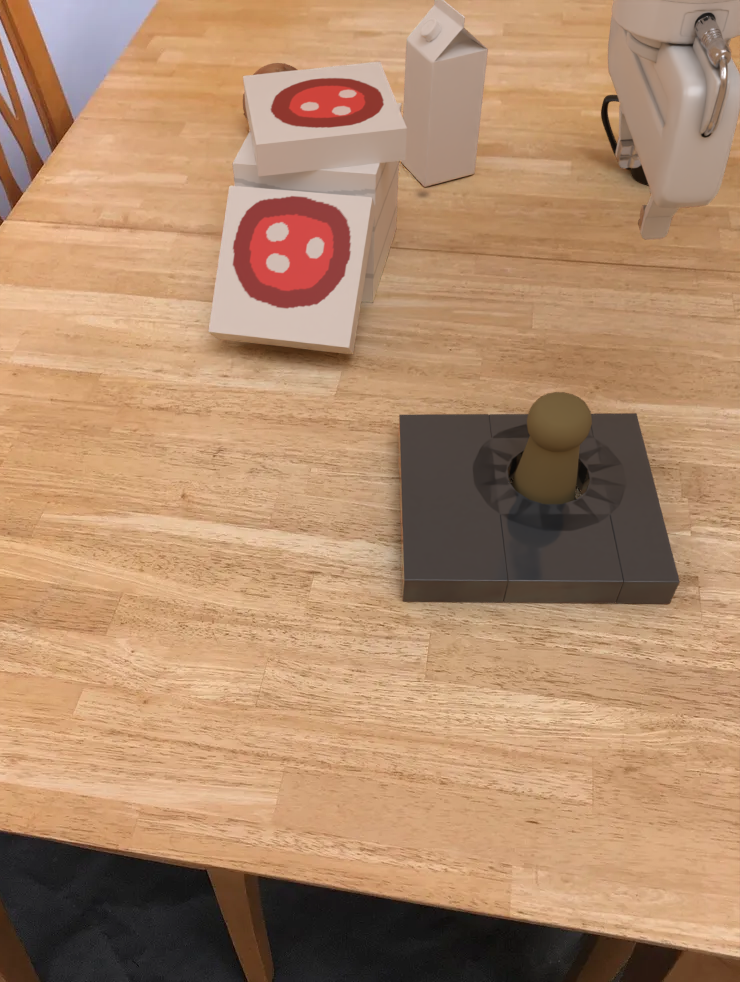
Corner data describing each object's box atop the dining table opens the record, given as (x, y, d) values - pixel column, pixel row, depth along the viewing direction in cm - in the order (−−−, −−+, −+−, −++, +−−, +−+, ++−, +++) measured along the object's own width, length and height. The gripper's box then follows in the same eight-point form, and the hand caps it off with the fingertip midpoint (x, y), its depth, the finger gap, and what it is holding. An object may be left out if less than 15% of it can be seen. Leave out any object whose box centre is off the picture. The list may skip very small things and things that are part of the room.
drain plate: (629, 436, 88) (636, 412, 86) (669, 604, 76) (680, 582, 74) (398, 437, 90) (399, 414, 88) (402, 602, 78) (404, 580, 76)
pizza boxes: (195, 359, 99) (169, 200, 84) (267, 208, 116) (255, 54, 101) (372, 381, 95) (375, 218, 81) (419, 221, 112) (428, 63, 98)
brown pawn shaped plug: (543, 533, 82) (566, 441, 73) (493, 496, 85) (509, 403, 76) (588, 499, 84) (616, 406, 75) (538, 464, 87) (559, 371, 78)
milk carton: (449, 150, 122) (463, -12, 107) (474, 175, 118) (492, 10, 103) (400, 162, 121) (407, 0, 106) (424, 188, 117) (435, 23, 102)
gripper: (792, 57, 50) (716, 280, 61) (707, -80, 62) (656, 126, 73) (672, 64, 51) (618, 283, 62) (611, -74, 63) (575, 130, 74)
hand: (638, 197), depth 68 cm, fingers open, 8 cm apart
